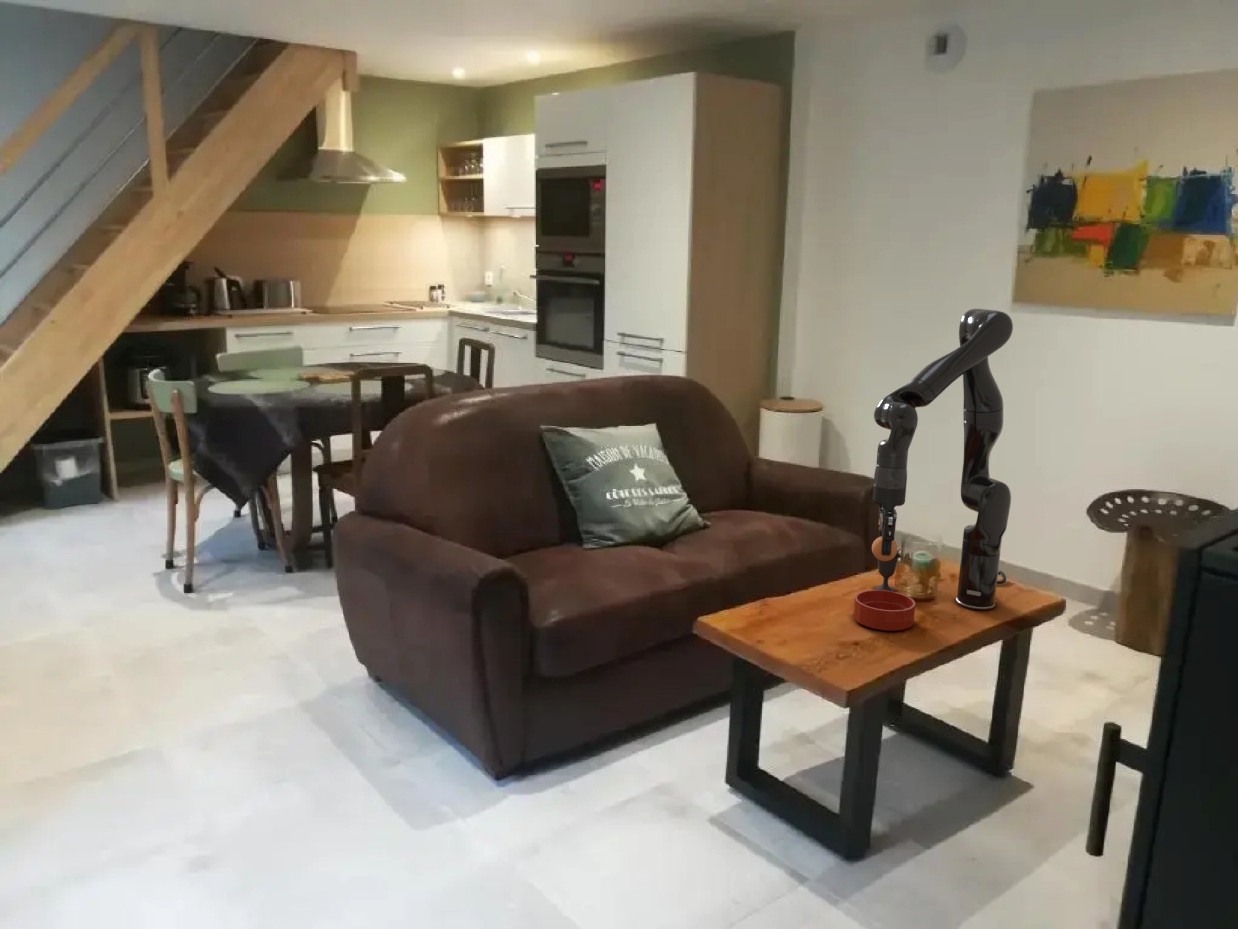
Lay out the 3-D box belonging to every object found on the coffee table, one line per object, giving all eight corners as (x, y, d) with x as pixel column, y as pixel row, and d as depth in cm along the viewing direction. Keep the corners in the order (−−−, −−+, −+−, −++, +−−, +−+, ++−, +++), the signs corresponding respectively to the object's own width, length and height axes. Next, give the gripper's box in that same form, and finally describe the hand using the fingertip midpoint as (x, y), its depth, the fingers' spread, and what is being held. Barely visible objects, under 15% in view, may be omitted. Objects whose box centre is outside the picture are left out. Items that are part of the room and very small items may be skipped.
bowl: (868, 606, 247) (870, 585, 246) (922, 620, 238) (924, 599, 237) (843, 622, 236) (844, 601, 235) (898, 637, 227) (900, 615, 226)
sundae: (867, 586, 261) (871, 533, 257) (889, 584, 262) (894, 531, 259) (879, 595, 255) (883, 540, 251) (902, 593, 256) (907, 539, 253)
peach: (877, 554, 239) (879, 528, 238) (900, 560, 236) (902, 533, 234) (866, 560, 235) (868, 534, 233) (890, 566, 231) (892, 539, 230)
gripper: (910, 492, 223) (903, 561, 227) (902, 477, 237) (897, 543, 241) (876, 490, 225) (871, 559, 228) (871, 475, 238) (866, 541, 242)
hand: (884, 550), depth 235 cm, fingers closed on peach, 6 cm apart
